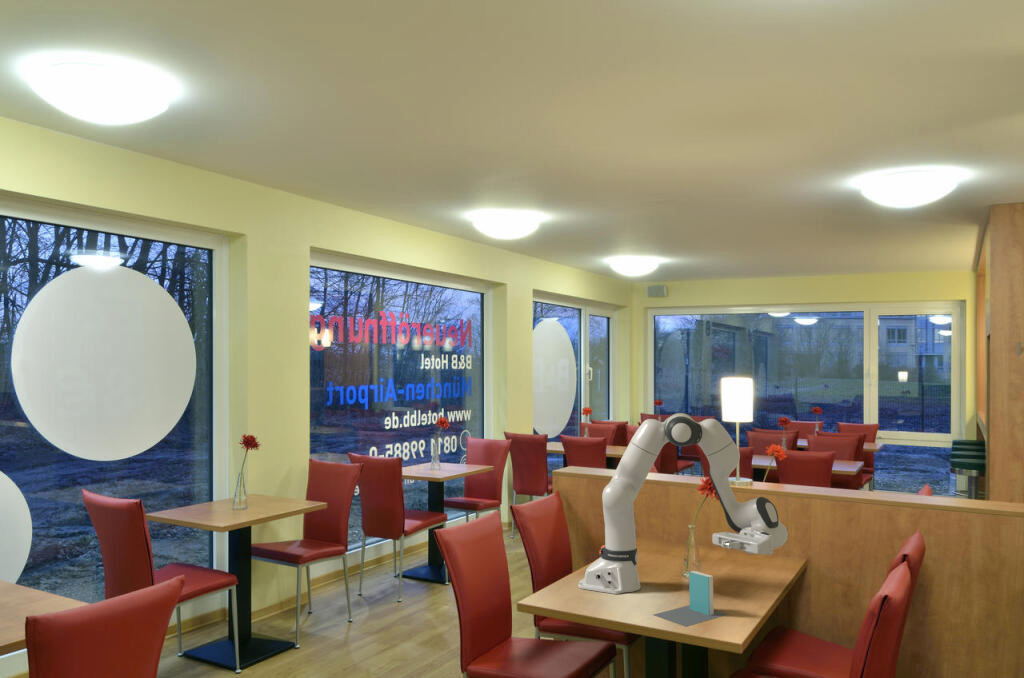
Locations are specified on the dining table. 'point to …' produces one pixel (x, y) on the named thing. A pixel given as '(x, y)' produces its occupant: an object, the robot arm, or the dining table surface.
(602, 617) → the dining table surface
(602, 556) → the robot arm
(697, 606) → the teal book
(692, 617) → the mat
